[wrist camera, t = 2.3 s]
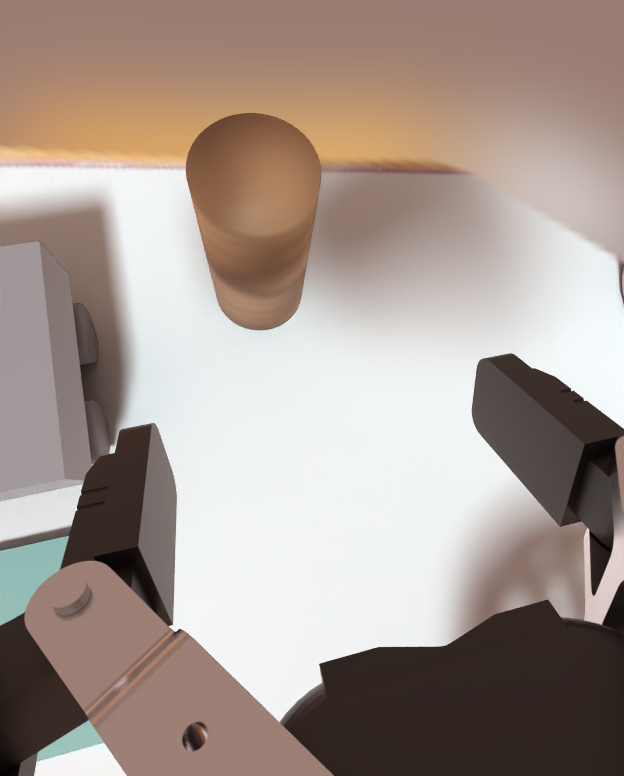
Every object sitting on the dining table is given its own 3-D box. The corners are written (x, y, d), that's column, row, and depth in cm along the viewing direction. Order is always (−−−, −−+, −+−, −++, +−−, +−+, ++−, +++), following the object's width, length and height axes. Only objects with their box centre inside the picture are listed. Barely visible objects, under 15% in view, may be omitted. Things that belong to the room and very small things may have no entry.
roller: (292, 245, 27) (305, 106, 18) (309, 322, 26) (334, 219, 17) (209, 258, 27) (176, 120, 17) (224, 337, 26) (198, 239, 16)
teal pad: (110, 526, 23) (107, 527, 22) (135, 729, 21) (133, 734, 21) (-91, 571, 22) (-98, 572, 21) (-83, 791, 20) (-90, 797, 19)
